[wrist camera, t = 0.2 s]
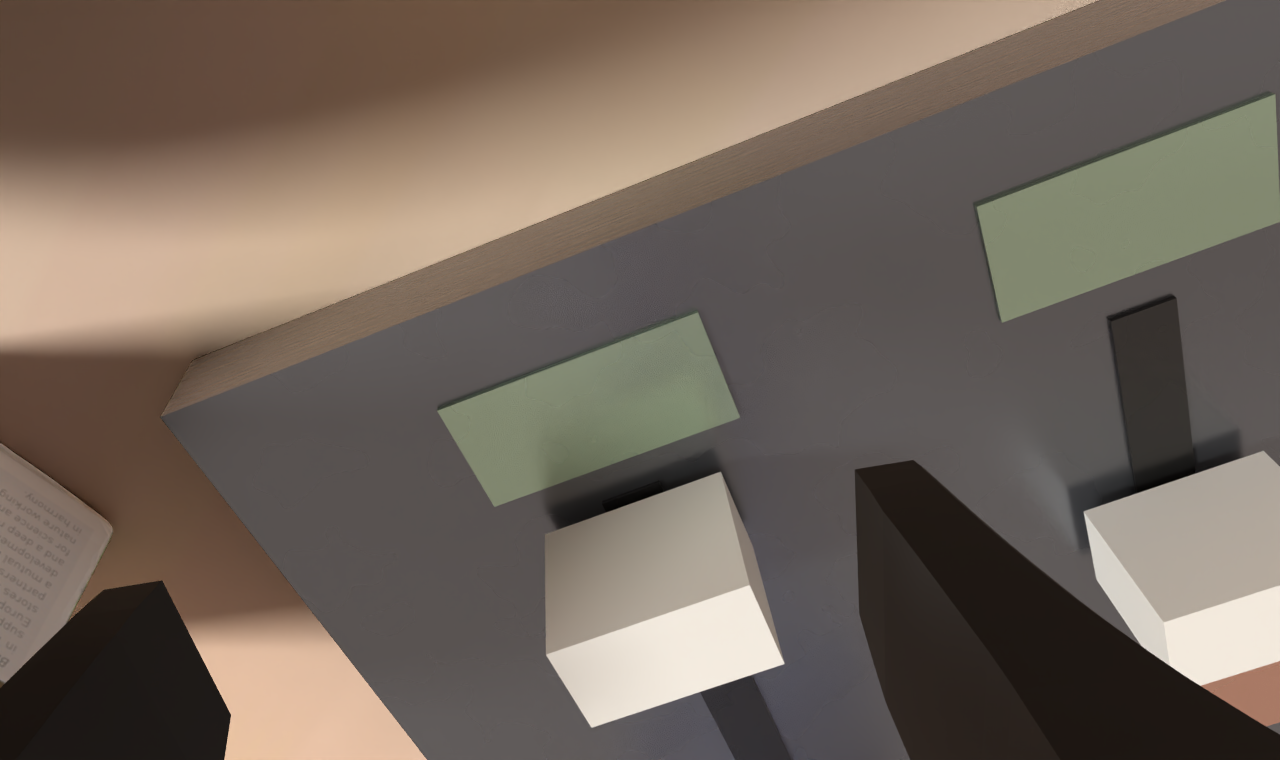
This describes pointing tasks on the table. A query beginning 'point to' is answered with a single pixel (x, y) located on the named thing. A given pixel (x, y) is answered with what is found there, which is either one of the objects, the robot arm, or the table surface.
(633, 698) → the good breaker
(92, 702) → the robot arm
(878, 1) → the table surface
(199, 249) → the table surface
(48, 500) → the syrup box
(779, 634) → the breaker panel
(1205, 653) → the beige rectangular block
